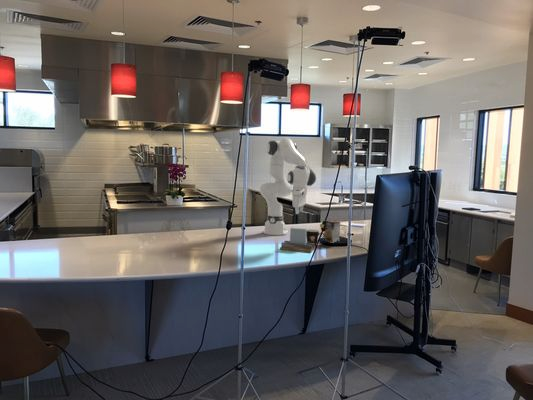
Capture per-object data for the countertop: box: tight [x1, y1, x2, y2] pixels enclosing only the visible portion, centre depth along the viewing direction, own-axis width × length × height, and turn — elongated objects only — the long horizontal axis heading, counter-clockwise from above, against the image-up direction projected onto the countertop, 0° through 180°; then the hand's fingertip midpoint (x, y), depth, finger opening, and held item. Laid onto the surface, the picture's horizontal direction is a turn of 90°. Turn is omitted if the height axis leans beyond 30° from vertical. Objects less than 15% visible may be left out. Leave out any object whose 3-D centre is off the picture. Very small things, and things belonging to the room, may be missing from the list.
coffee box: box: [323, 219, 341, 243], centre depth 312 cm, size 9×6×16 cm
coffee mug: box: [306, 229, 324, 246], centre depth 307 cm, size 12×9×10 cm
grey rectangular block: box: [289, 227, 308, 245], centre depth 294 cm, size 3×10×12 cm, turn 71°
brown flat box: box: [279, 240, 316, 254], centre depth 295 cm, size 14×20×4 cm
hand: (299, 212), depth 292 cm, fingers open, 8 cm apart
